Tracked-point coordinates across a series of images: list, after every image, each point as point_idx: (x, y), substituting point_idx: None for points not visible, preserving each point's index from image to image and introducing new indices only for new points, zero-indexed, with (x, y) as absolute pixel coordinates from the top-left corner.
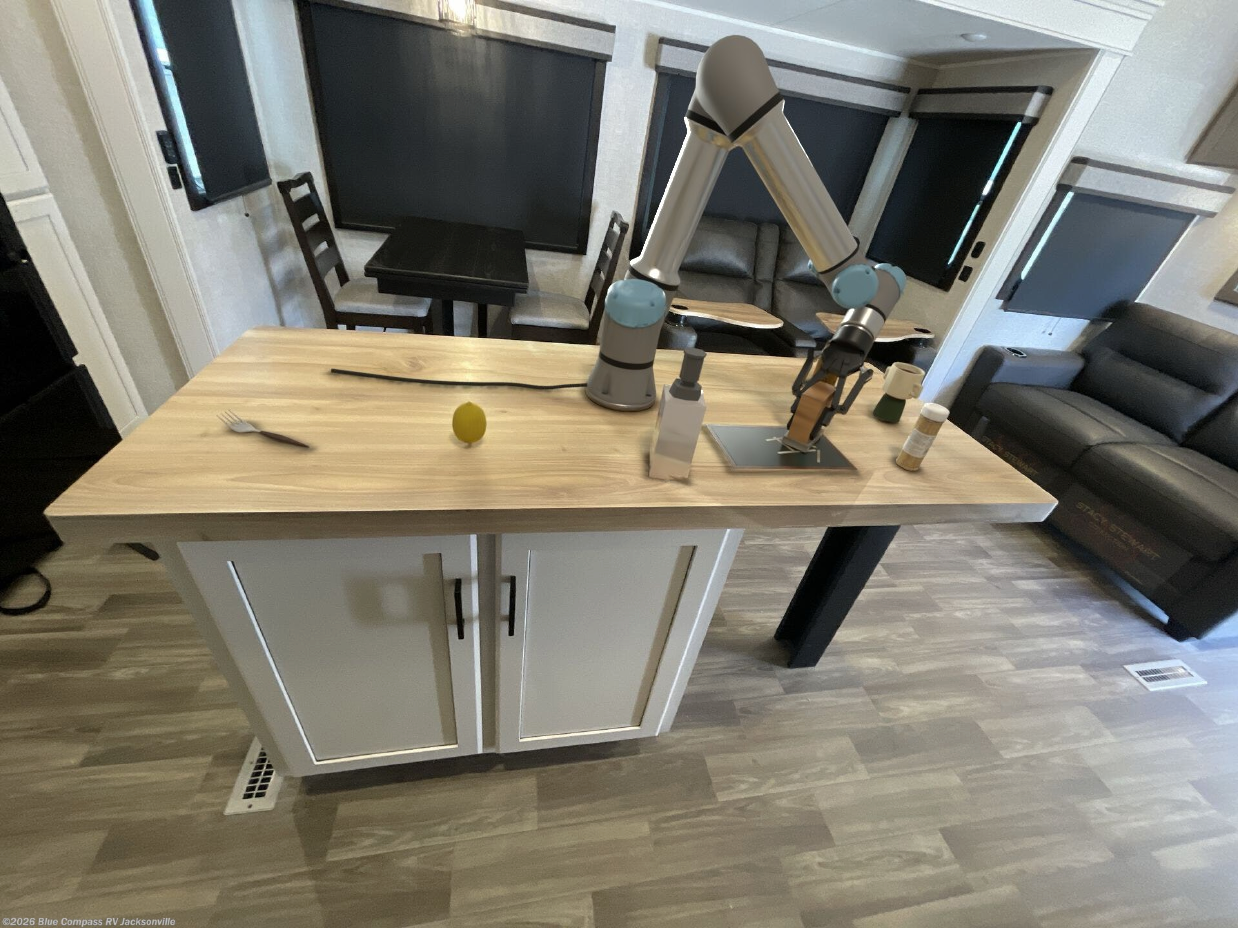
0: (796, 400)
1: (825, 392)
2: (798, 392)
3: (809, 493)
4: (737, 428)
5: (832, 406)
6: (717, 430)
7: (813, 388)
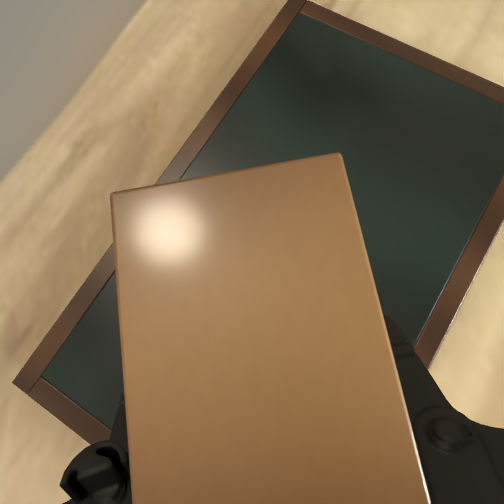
0: (421, 381)
1: (204, 499)
2: (489, 451)
3: (95, 118)
4: (475, 199)
5: (104, 443)
6: (495, 114)
7: (368, 446)
